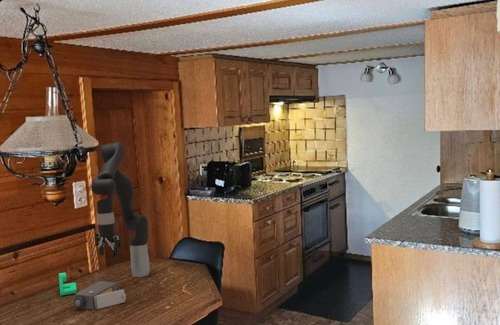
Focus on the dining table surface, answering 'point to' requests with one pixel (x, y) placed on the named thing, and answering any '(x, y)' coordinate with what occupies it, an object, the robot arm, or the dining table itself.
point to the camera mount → (66, 285)
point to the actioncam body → (93, 294)
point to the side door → (109, 299)
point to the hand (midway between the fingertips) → (108, 256)
